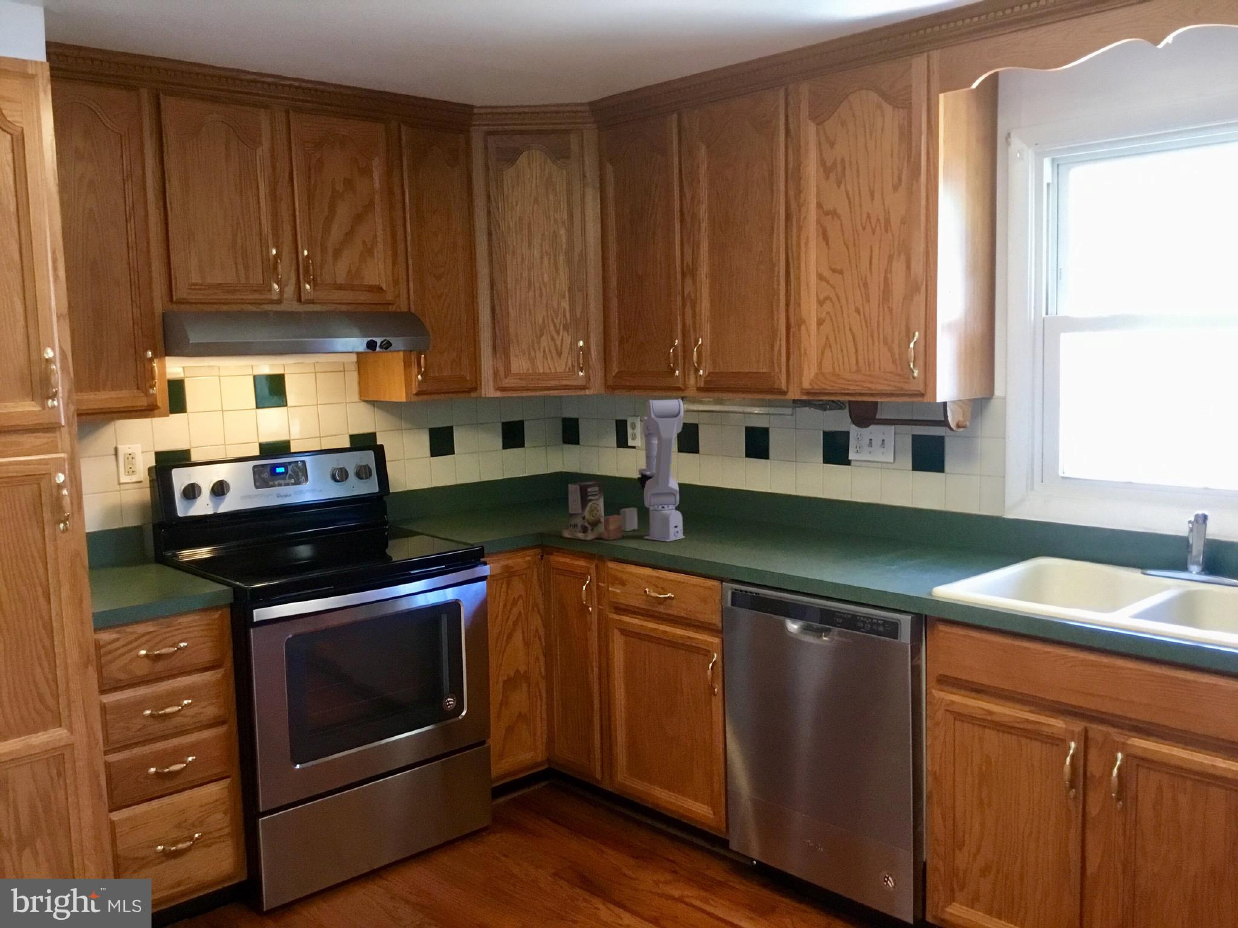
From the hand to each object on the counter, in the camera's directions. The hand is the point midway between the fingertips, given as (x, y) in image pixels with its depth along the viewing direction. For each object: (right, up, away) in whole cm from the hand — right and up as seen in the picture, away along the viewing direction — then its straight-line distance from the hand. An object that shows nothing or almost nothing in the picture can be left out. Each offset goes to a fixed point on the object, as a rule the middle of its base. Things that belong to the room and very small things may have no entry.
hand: (655, 500), depth 333 cm
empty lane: (-13, -9, +10) cm, 19 cm away
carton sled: (-18, -10, -5) cm, 21 cm away
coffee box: (-21, -11, -3) cm, 24 cm away
